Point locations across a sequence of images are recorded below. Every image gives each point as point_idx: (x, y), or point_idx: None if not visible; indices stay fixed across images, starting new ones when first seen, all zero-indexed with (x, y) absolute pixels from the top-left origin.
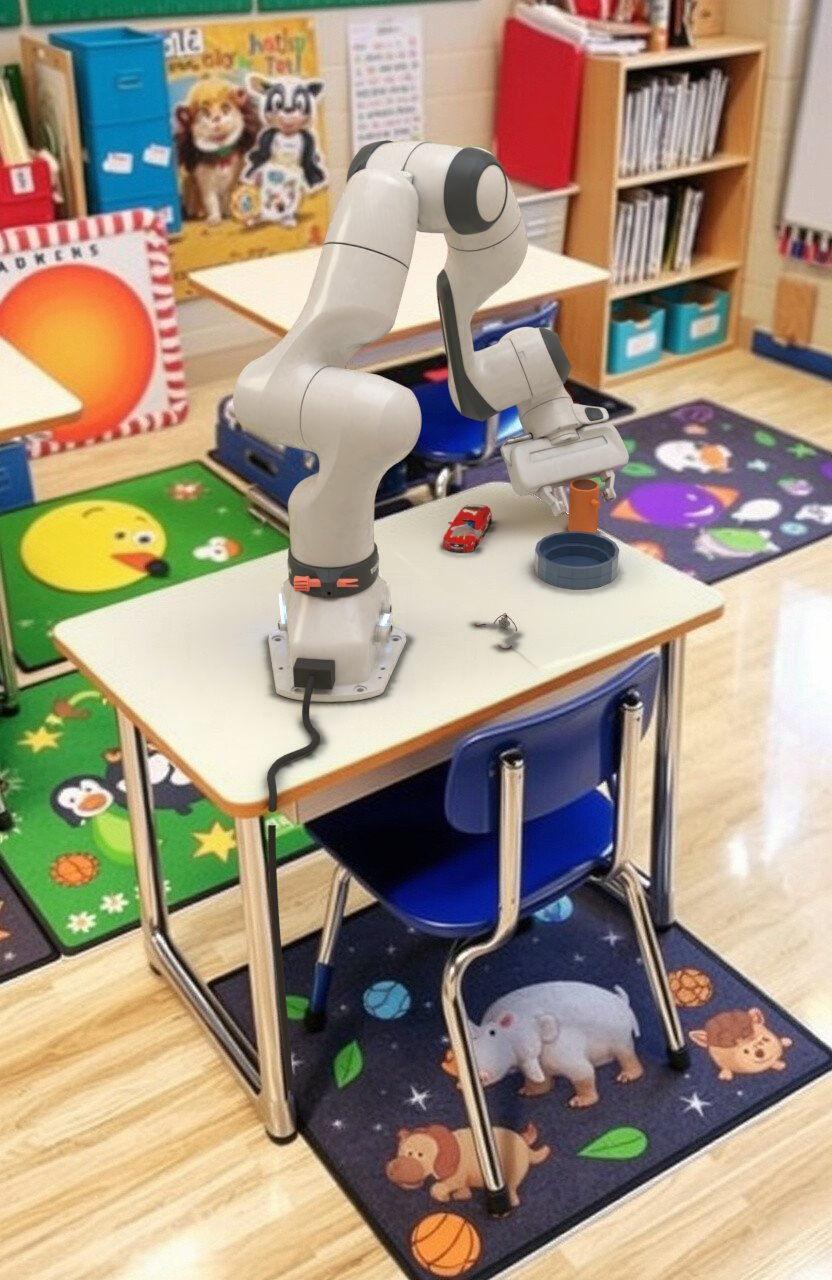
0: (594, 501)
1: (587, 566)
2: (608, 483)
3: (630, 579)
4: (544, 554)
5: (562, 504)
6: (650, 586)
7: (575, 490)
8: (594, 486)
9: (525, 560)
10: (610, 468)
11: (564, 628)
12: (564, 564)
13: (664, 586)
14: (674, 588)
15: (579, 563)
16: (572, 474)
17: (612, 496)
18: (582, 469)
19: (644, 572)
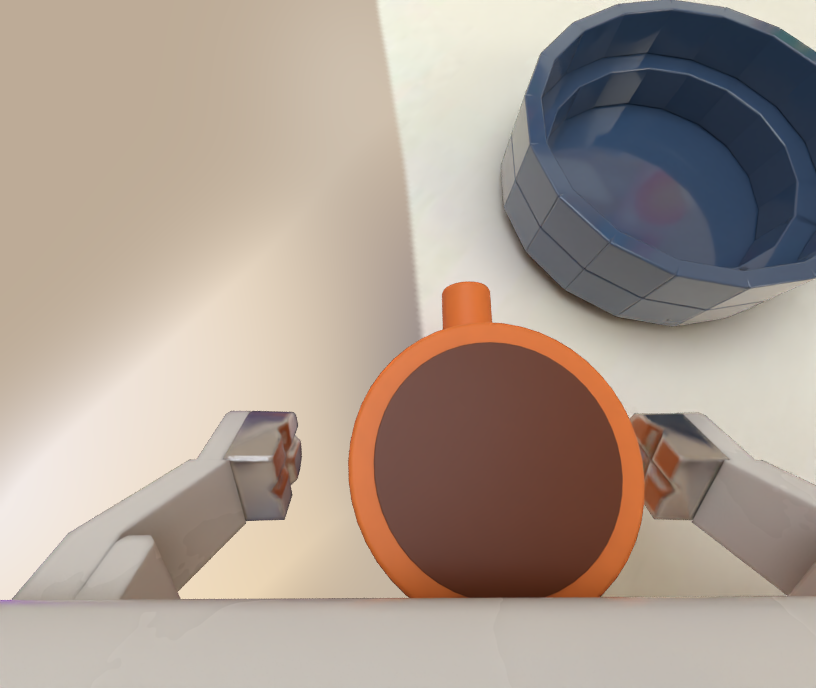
0: (481, 313)
1: (597, 190)
2: (187, 518)
3: (496, 100)
4: (780, 249)
5: (678, 436)
6: (468, 51)
7: (624, 417)
8: (440, 372)
9: (774, 363)
10: (23, 602)
11: (789, 6)
12: (667, 238)
13: (433, 35)
14: (416, 18)
15: (613, 219)
16: (650, 622)
17: (259, 413)
18: (466, 667)
19: (432, 111)
